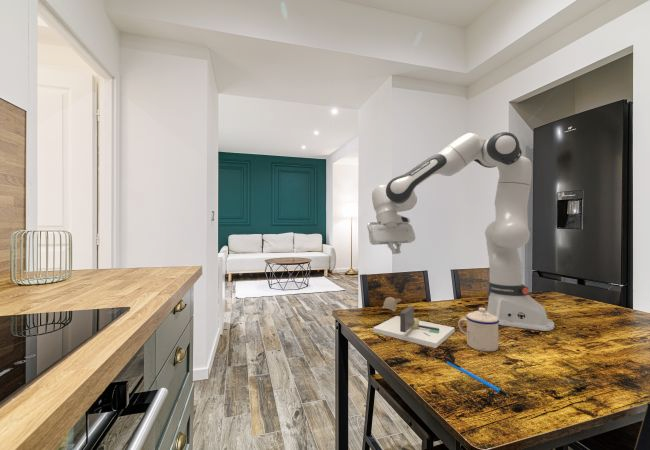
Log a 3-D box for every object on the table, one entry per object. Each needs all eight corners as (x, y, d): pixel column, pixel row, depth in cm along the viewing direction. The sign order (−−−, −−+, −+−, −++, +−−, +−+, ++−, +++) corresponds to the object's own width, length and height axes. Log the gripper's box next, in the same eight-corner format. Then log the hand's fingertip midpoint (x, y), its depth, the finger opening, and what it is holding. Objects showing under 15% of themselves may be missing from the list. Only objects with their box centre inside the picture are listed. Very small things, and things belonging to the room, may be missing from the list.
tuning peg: (410, 324, 110) (410, 303, 110) (440, 329, 104) (440, 307, 104) (397, 335, 98) (397, 312, 98) (430, 342, 93) (430, 317, 93)
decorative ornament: (387, 306, 140) (387, 295, 140) (402, 310, 134) (402, 298, 134) (381, 308, 138) (381, 296, 137) (396, 312, 131) (396, 299, 131)
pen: (444, 361, 85) (444, 357, 85) (509, 397, 68) (508, 391, 68) (442, 361, 85) (442, 357, 85) (506, 398, 67) (506, 392, 67)
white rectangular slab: (454, 331, 107) (454, 327, 107) (435, 348, 93) (435, 343, 93) (396, 319, 121) (396, 315, 121) (372, 332, 107) (372, 327, 107)
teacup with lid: (504, 346, 94) (504, 308, 94) (491, 355, 88) (491, 314, 88) (465, 335, 103) (465, 301, 103) (451, 342, 98) (451, 306, 98)
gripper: (370, 219, 122) (378, 252, 117) (412, 218, 129) (421, 249, 124) (363, 225, 127) (370, 257, 122) (404, 224, 135) (412, 254, 130)
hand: (396, 253), depth 123 cm, fingers closed
